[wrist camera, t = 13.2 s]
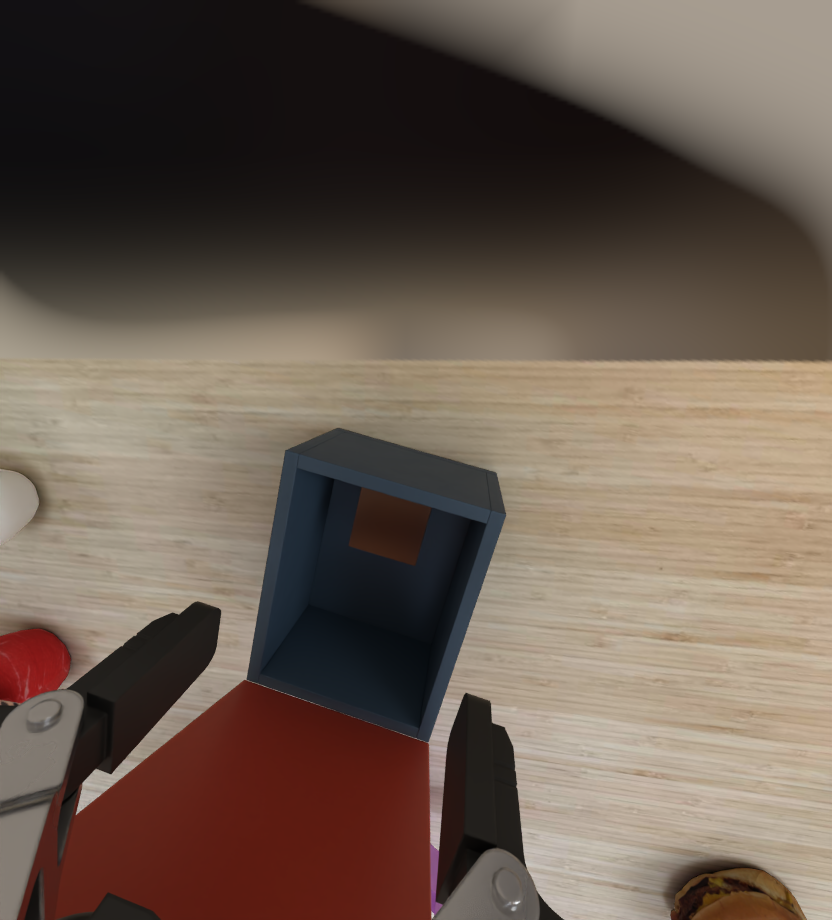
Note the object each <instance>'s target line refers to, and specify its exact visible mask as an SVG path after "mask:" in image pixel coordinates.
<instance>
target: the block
mask: <svg viewBox="0 0 832 920" xmlns="http://www.w3.org/2000/svg"><path fill="white" fill-rule="evenodd" d="M431 510H432V508H431V507H428V506H425V505H421V504H418V503H414V502H411V501H408V500H404V499H401V498H397V497H394V496H391V495H387V494H384V493H381V492H377V491H374V490H370V489H367V488H364V487H361V492H360V496H359V501H358V505H357V509H356V514H355V518H354V523H353V527H352V532H351V536H350V541H349V546H350V547H353V548H357V549H360V550H363V551H366V552H370V553H373V554H376V555H380V556H383V557H386V558H389V559H393V560H396V561H399V562H403V563H406V564H409V565H412V566H416V562H417V559H418V556H419V552H420V549H421V545H422V542H423V539H424V535H425V531H426V528H427V524H428V521H429V517H430V514H431Z"/></svg>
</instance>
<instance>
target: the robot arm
mask: <svg viewBox="0 0 832 920" xmlns="http://www.w3.org/2000/svg"><path fill="white" fill-rule="evenodd" d="M220 618H221V610H220V609H219V608H216V607H213V606H210V605H207V604H204V603H201V602H198V601H197V602H194V603H193V604H191V605H190V606H189V607H188V608H187V609H185V610H184V611H183V612H182V613H181V614H179V615H178V614H175V613H173V612H172V613H170V614H168V615H166V616H163V617H161V618H159V619H156V620H154V621H152V622H151V623H150V624H149V625H147V626H146V627H145V628H144V629H142V630H141V631H140V632H138V633H137V635H136V636H133V637H132V638H131V639H130V640H128V641H127V642H126V643H124V645H123V647H122V646H121V647H119V648H118V649H117V650H116V651H114V652H113V653H112V654H111V655H109V656H108V657H107V658H105V659H104V660H103V661H102V662H100V663H99V664H98V665H97V666H95V667H94V668H93V669H91V670H90V671H89V672H88V673H86V674H85V675H84V676H83V677H81V678H80V679H79V680H78V681H76V682H75V683H74V684H72V685H71V686H70V687H68V688H67V689H60V690H52V691H48V692H45V693H41V694H39V695H36V696H34V697H32V698H30V699H28V700H26V701H25V702H23V703H21V704H20V705H14V706H12V705H0V920H54V918H55V913H56V906H57V899H58V891H59V885H60V879H61V874H62V870H63V866H64V861H65V857H66V853H67V849H68V845H69V840H70V836H71V832H72V828H73V824H74V819H75V815H76V811H77V807H78V803H79V798H80V794H81V790H82V783H83V782H84V780H85V779H86V778H87V777H88V776H89V775H90V774H91V773H92V772H93V771H94V770H95V769H99V770H101V771H104V772H106V773H109V774H112V773H113V771H114V770H115V769H116V768H117V767H118V766H119V765H120V764H121V763H122V761H123V760H124V759H125V758H126V757H127V756H128V755H129V754H130V752H131V751H132V750H133V749H134V748H135V747H136V746H137V745H138V744H139V742H140V741H141V740H142V739H143V738H144V737H145V736H146V735H147V733H148V732H149V731H150V730H151V729H152V728H153V727H154V726H155V725H156V723H157V722H158V721H159V720H160V719H161V718H162V717H163V716H164V715H165V713H166V712H167V711H168V710H169V709H170V708H171V707H172V706H173V704H174V703H175V702H176V701H177V700H178V699H179V698H180V697H181V696H182V694H183V693H184V692H185V691H186V690H187V689H188V688H189V687H190V685H191V684H192V683H193V682H194V681H195V680H196V679H197V678H198V677H199V675H200V674H201V673H202V672H203V671H204V670H205V669H206V667H207V666H208V665H209V663H210V661H211V660H212V658H213V656H214V653H215V651H216V647H217V640H218V632H219V625H220ZM516 785H517V781H516V771H515V761H514V750H513V745H512V743H511V741H510V739H509V736H508V734H507V732H506V730H505V727H502V726H499V725H496V724H493V723H492V717H491V703H490V701H488V700H485V699H482V698H479V697H477V696H474V695H471V694H468V693H465V695H464V697H463V699H462V702H461V705H460V708H459V710H458V713H457V716H456V719H455V721H454V724H453V727H452V730H451V733H450V737H449V741H448V747H447V754H446V767H445V780H444V794H443V807H442V820H441V833H440V847H439V860H438V873H437V886H436V900H435V902H437V903H439V904H442V907H441V908H440V909H439V911H438V912H437V913H436V915H435V916H434V917H433V919H432V920H564V919H562V918H561V917H560V916H559V915H557V914H556V913H555V912H554V911H553V910H552V909H551V908H550V907H549V906H548V905H547V904H546V903H545V902H544V900H543V899H542V898H541V896H540V895H539V893H538V892H537V890H536V887H535V884H534V882H533V880H532V877H531V876H530V874H529V872H528V870H527V868H526V864H525V859H524V852H523V842H522V832H521V822H520V811H519V801H518V791H517V788H516ZM56 920H161V919H160V918H159V917H158V916H157V915H156V914H155V912H154V911H152V910H150V909H147V908H145V907H143V906H140V905H138V904H135V903H133V902H131V901H128V900H126V899H123V898H121V897H118V896H116V895H114V894H111V893H109V892H108V893H107V894H106V895H105V897H104V898H103V900H102V901H101V903H100V904H99V905H98V907H97V908H96V910H95V911H94V912H83V913H77V914H72V915H69V916H66V917H62V918H59V919H56Z"/></svg>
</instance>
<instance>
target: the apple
mask: <svg viewBox="0 0 832 920" xmlns="http://www.w3.org/2000/svg"><path fill="white" fill-rule="evenodd" d="M38 506H39V498H38V495H37V491H36V488H35V486H34V484H33V483H32V482H31V481H30V480H29V479H28V478H26V477H25V476H24V475H22V474H20V473H18V472H15V471H10V470H4V469H0V545H2V544H4V543H6V542H7V541H9V540H10V539H11V538H12V537H14V536H15V535H16V534H17V533H18V532H19V531H20V530H21V529H22V528H23V527H24V526H25V525H26V524H27V523H28V522H29V521H30V520H31V519H32V518H33V517H34V515H35V513H36V511H37V509H38Z"/></svg>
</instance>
